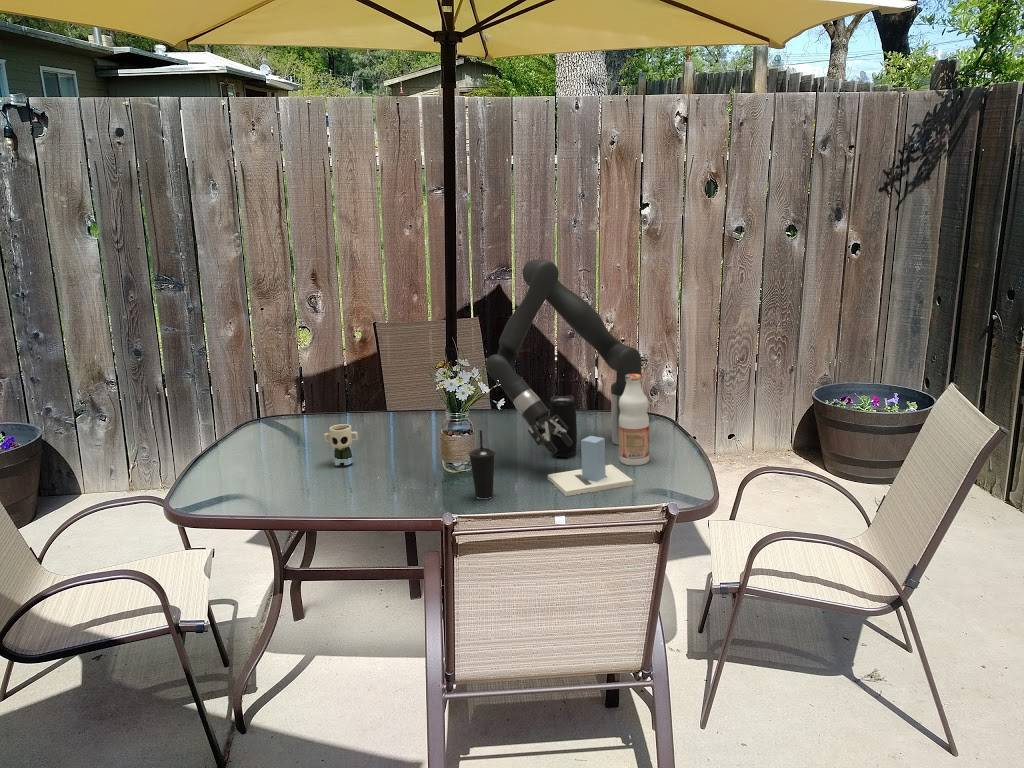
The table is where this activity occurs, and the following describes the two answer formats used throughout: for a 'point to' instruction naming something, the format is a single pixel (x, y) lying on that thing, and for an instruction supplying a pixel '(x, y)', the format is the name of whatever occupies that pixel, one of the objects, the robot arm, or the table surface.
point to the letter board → (588, 481)
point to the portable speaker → (567, 413)
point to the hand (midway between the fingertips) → (563, 448)
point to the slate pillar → (593, 458)
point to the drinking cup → (482, 469)
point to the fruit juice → (633, 423)
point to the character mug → (341, 440)
